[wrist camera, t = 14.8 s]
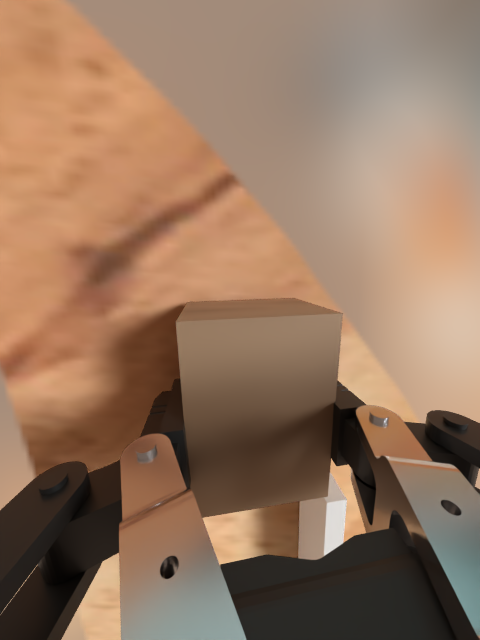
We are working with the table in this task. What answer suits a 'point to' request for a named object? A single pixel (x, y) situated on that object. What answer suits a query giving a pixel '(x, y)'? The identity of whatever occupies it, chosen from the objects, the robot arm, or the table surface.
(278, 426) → the walnut block
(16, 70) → the table surface
